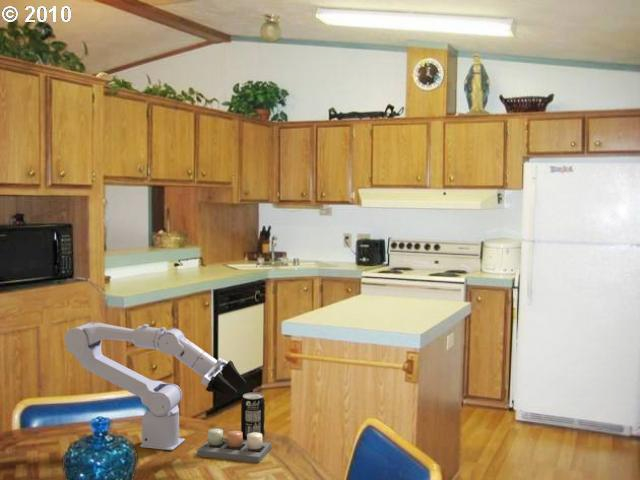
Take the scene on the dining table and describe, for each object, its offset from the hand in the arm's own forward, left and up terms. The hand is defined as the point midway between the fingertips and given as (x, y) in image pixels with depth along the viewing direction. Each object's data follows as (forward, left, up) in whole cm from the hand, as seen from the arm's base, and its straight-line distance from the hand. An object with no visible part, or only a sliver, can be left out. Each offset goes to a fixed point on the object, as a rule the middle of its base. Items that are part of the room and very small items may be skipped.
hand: (239, 390), depth 177 cm
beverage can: (0, +10, -16) cm, 19 cm away
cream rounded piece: (+5, -2, -14) cm, 15 cm away
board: (-1, -2, -16) cm, 16 cm away
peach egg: (-1, -2, -14) cm, 14 cm away
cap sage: (-6, -2, -14) cm, 15 cm away
